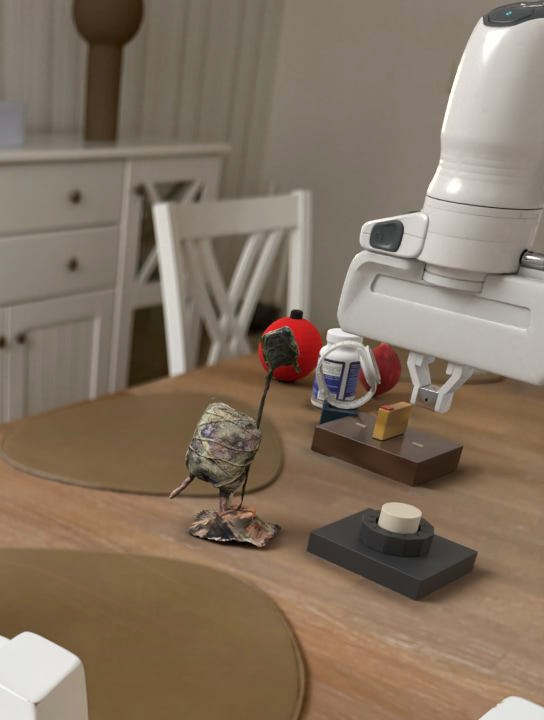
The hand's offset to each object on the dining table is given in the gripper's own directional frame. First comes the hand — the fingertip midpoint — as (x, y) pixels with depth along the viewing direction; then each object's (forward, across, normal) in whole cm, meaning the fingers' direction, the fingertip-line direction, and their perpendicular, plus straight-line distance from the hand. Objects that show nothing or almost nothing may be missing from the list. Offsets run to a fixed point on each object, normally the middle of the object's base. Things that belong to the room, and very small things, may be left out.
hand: (428, 408), depth 86 cm
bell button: (+11, 0, 0) cm, 11 cm away
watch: (+15, +26, -28) cm, 41 cm away
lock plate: (+15, +16, -24) cm, 33 cm away
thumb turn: (+12, +16, -24) cm, 31 cm away
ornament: (+15, +43, -40) cm, 61 cm away
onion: (+15, +31, -45) cm, 57 cm away
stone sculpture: (+15, +14, +8) cm, 22 cm away
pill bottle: (+15, +32, -36) cm, 51 cm away
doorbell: (+15, 0, 0) cm, 15 cm away
